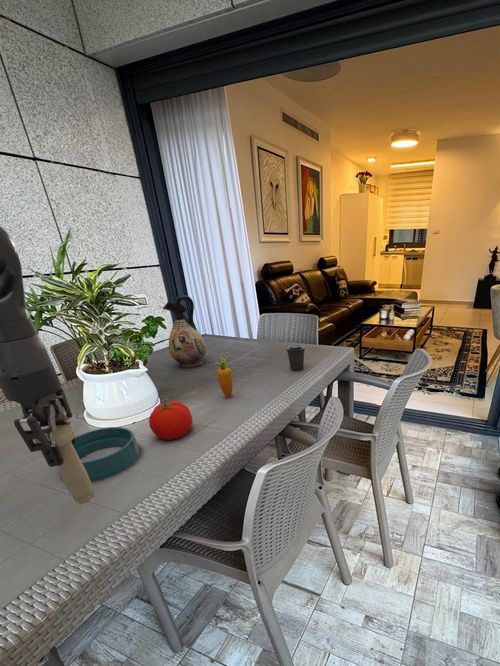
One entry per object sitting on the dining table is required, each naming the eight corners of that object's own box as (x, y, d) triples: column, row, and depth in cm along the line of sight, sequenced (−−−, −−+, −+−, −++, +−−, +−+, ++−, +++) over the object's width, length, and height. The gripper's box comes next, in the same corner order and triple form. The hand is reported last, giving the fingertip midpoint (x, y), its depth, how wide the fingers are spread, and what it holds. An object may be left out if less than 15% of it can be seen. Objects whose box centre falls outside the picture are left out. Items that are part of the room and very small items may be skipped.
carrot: (232, 402, 123) (225, 360, 115) (219, 401, 123) (211, 360, 116) (238, 396, 127) (231, 356, 120) (225, 395, 128) (217, 355, 120)
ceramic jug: (171, 372, 152) (153, 299, 137) (175, 361, 165) (159, 293, 150) (211, 367, 155) (198, 296, 140) (212, 357, 168) (200, 291, 154)
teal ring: (55, 490, 83) (45, 469, 80) (77, 452, 97) (69, 433, 94) (134, 475, 87) (127, 455, 84) (144, 441, 101) (138, 422, 98)
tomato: (176, 422, 111) (168, 392, 106) (203, 430, 106) (197, 399, 101) (144, 440, 101) (134, 408, 96) (172, 449, 97) (163, 416, 92)
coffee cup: (299, 373, 145) (297, 349, 140) (283, 370, 149) (281, 347, 144) (310, 367, 151) (309, 344, 146) (294, 364, 155) (293, 342, 150)
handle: (99, 486, 72) (72, 422, 65) (99, 504, 67) (70, 437, 60) (72, 494, 70) (41, 429, 63) (70, 513, 65) (35, 445, 58)
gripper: (15, 355, 60) (54, 438, 69) (-31, 385, 48) (23, 482, 56) (64, 350, 62) (96, 431, 70) (31, 378, 50) (75, 472, 58)
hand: (63, 453), depth 63 cm, fingers closed on handle, 6 cm apart
